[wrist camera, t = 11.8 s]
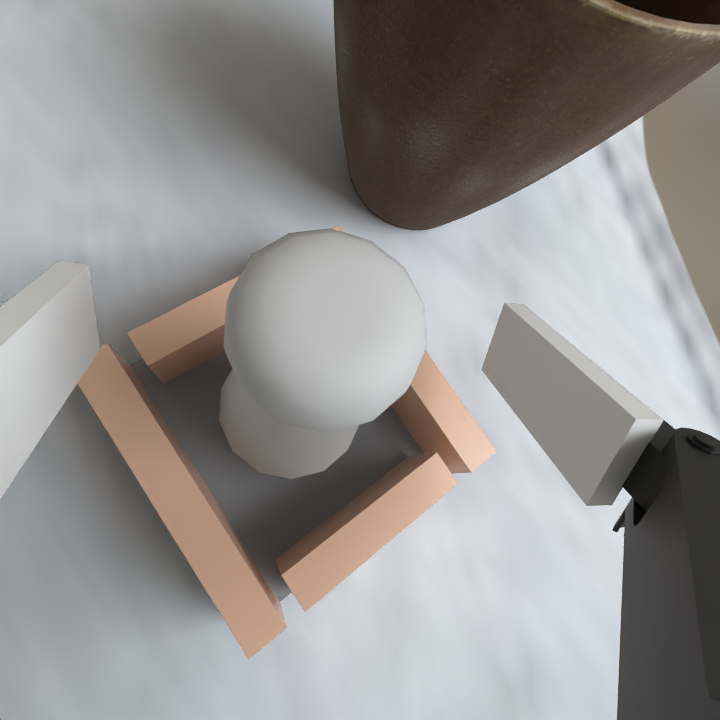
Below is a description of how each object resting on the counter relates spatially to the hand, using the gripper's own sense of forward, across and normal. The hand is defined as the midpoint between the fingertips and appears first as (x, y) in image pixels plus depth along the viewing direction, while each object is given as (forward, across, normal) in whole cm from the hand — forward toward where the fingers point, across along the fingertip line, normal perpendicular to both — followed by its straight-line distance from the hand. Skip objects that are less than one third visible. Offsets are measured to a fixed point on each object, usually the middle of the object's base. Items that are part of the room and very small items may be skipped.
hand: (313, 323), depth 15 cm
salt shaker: (+4, 0, -7) cm, 8 cm away
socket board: (+4, 0, -8) cm, 9 cm away
